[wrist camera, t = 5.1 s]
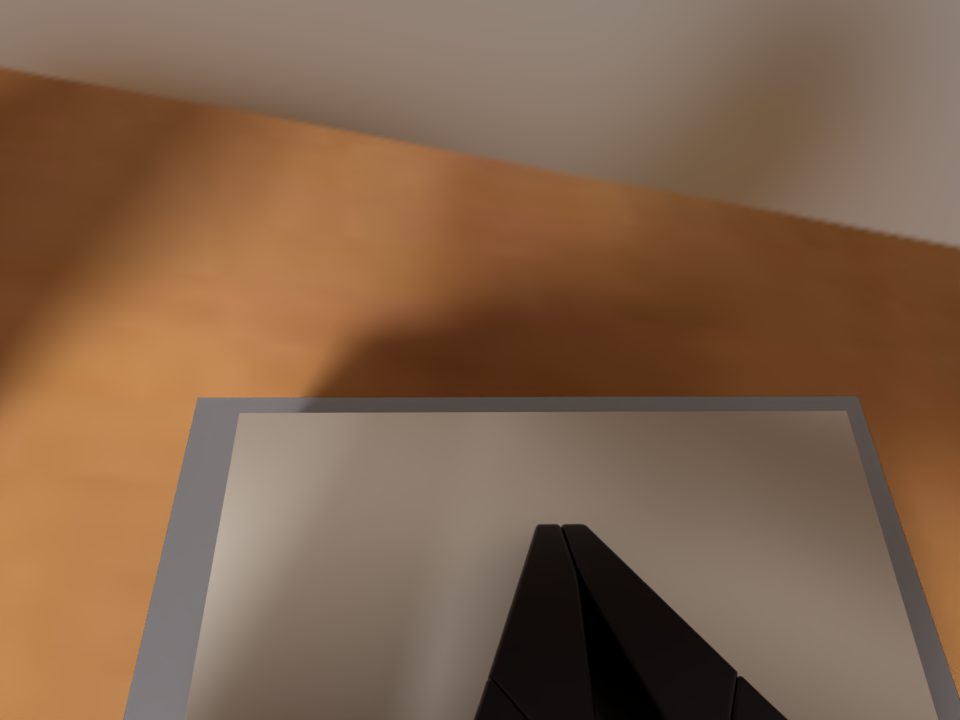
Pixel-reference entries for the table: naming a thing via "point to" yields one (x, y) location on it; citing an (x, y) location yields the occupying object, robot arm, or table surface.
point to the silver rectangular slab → (505, 543)
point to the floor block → (213, 429)
